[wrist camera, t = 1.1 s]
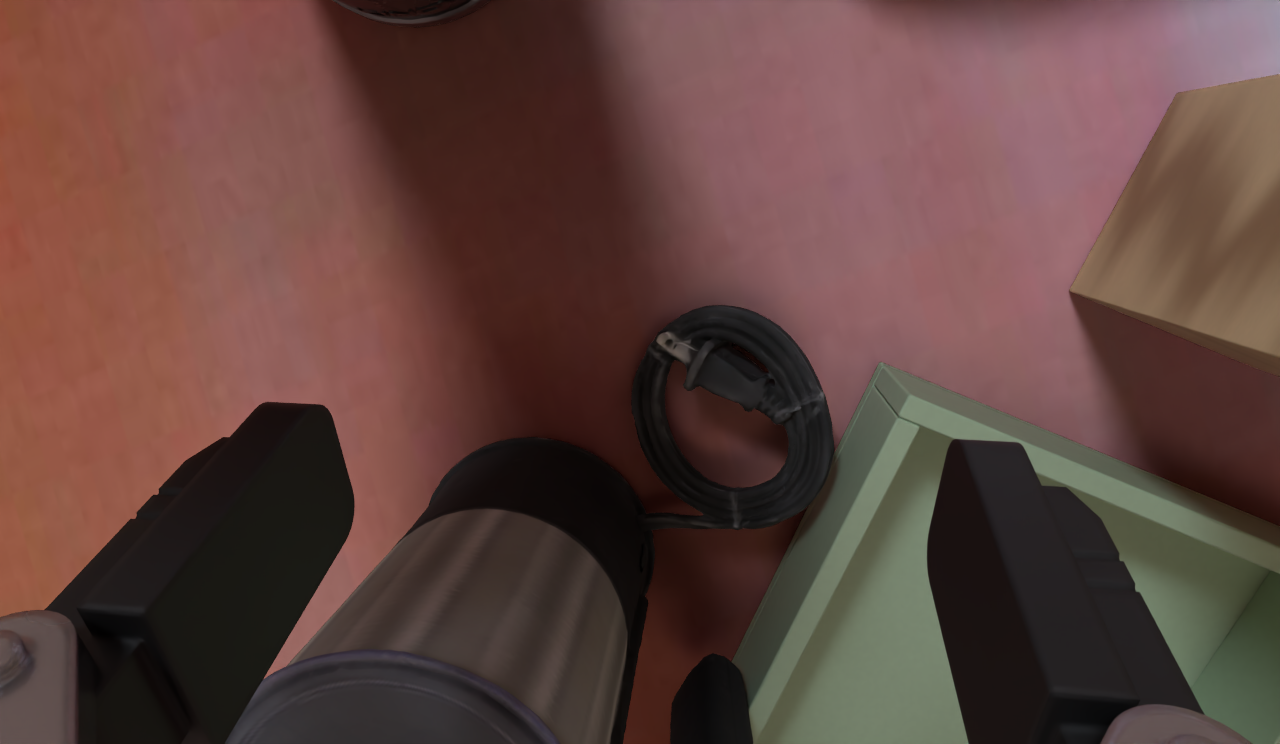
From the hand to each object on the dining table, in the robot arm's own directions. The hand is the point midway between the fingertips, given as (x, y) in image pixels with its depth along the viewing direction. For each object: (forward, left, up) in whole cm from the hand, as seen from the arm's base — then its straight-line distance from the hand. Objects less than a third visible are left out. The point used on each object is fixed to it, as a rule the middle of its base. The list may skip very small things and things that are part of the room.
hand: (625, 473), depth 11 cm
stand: (+2, +18, -19) cm, 26 cm away
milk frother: (+7, -4, -19) cm, 21 cm away
